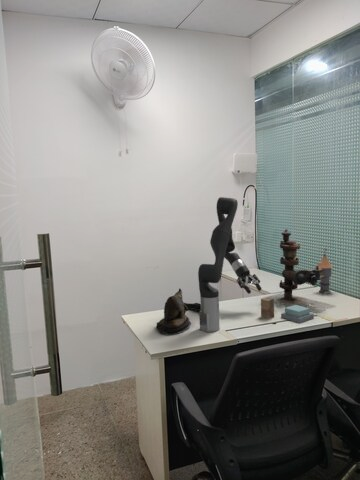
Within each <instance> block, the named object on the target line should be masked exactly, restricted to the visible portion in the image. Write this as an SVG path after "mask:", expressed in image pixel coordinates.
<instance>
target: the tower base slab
mask: <svg viewBox="0 0 360 480" xmlns="http://www.w3.org/2000/svg"><path fill="white" fill-rule="evenodd" d="M280 315H281V319H284V320H287V321H291V322H295V323H298V324H302V323H305V322H307V321H309V320H314V319H315V313H313V312H310V314H307V315H304V316H301V317H296V316H293V315H289V314H286V313H285V311H284V312H282V313H281V314H280Z"/></svg>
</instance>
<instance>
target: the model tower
mask: <svg viewBox="0 0 360 480" xmlns="http://www.w3.org/2000/svg"><path fill="white" fill-rule="evenodd" d="M327 251H328V249H327V248H324V252H327ZM322 255H323V256H322V258H321V260H320V261H319V263H317V264H316V266H318V267H319V270H320V273H321V275H320V277H321V279H320V280H319V283H318V284H319V285H320V286H319V287H320V290H319V293H322V294H324V295H325V294H332V291H331V290H330V285H331V283H330V278H331V276H332V269H333V268H334V267H333V265H332V264H331V262H330V261H329V259H328V257H327V255H326V253H324V254H322ZM315 269H316V267H315V268H314V270H315Z"/></svg>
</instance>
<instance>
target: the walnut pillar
mask: <svg viewBox="0 0 360 480" xmlns="http://www.w3.org/2000/svg"><path fill="white" fill-rule="evenodd" d="M265 297H266V298H264V297H262V299H261V298H260V317H261V318H265V319H272V318H275V302H274V299H272V298H268V296H265Z"/></svg>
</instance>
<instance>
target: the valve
mask: <svg viewBox="0 0 360 480" xmlns="http://www.w3.org/2000/svg"><path fill="white" fill-rule="evenodd" d="M281 235H282V240H280V243H279V248H280V249H281V251H282V256H281V258H280V262H279V263H280V265H284V269H283V270H282V273H281V275H282V277H283V278H284V279H283V280H281V279H280V282H279V283H278V286H279V288H281V289H282V290H283V293H282V292H280V293H277V294H272V295H268V296H264V297H262V298H266V297H268V298H272V299H274V303H277V304H280V305H284V306H287V307H290V306H293V305H299V306H302V307H306V308H310V313H313V314H319V313H322V312H325V311H327V310H329V309H330V310H332V309H334V308H337V305H334V304H331V303H327V302H322V301H318V300H314V299H311V298H307V297H303V296H297V295H293V290H297V289H298V286H301V285H304V284H305V283H309V284H310V285H312V286H315V285H316V284H317V283H318V281H320V280H321V277H320V275H321V273H320V270H319V267H318V266H317V265H316V267H315V268H316V269H315V268H314V269H311V268H310V269H309V268H308V269H297V270H295V269H294V267H295V266H299V263H300V260H299V258H298V257H297V253H298V252H297V251H298V250H300V248H301V244H300V243H297V242H296V240H294V239H290V236H292V232H290V231H288V229H287V228H285V230H284V231H281ZM262 298H260V300H261V299H262Z"/></svg>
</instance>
